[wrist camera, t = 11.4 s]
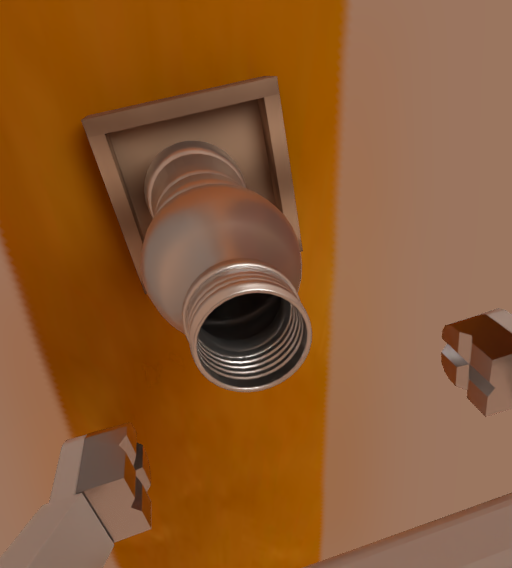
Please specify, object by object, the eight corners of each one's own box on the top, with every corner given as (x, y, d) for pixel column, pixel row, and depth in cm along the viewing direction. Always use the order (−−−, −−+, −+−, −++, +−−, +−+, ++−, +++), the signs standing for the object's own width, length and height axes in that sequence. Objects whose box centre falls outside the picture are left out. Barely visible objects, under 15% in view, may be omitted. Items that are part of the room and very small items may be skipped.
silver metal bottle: (192, 246, 32) (245, 459, 14) (123, 179, 28) (81, 349, 11) (257, 188, 31) (396, 340, 13) (193, 112, 28) (267, 182, 10)
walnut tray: (87, 115, 27) (81, 120, 25) (265, 76, 29) (276, 76, 26) (145, 276, 33) (145, 294, 30) (290, 237, 34) (302, 251, 32)
